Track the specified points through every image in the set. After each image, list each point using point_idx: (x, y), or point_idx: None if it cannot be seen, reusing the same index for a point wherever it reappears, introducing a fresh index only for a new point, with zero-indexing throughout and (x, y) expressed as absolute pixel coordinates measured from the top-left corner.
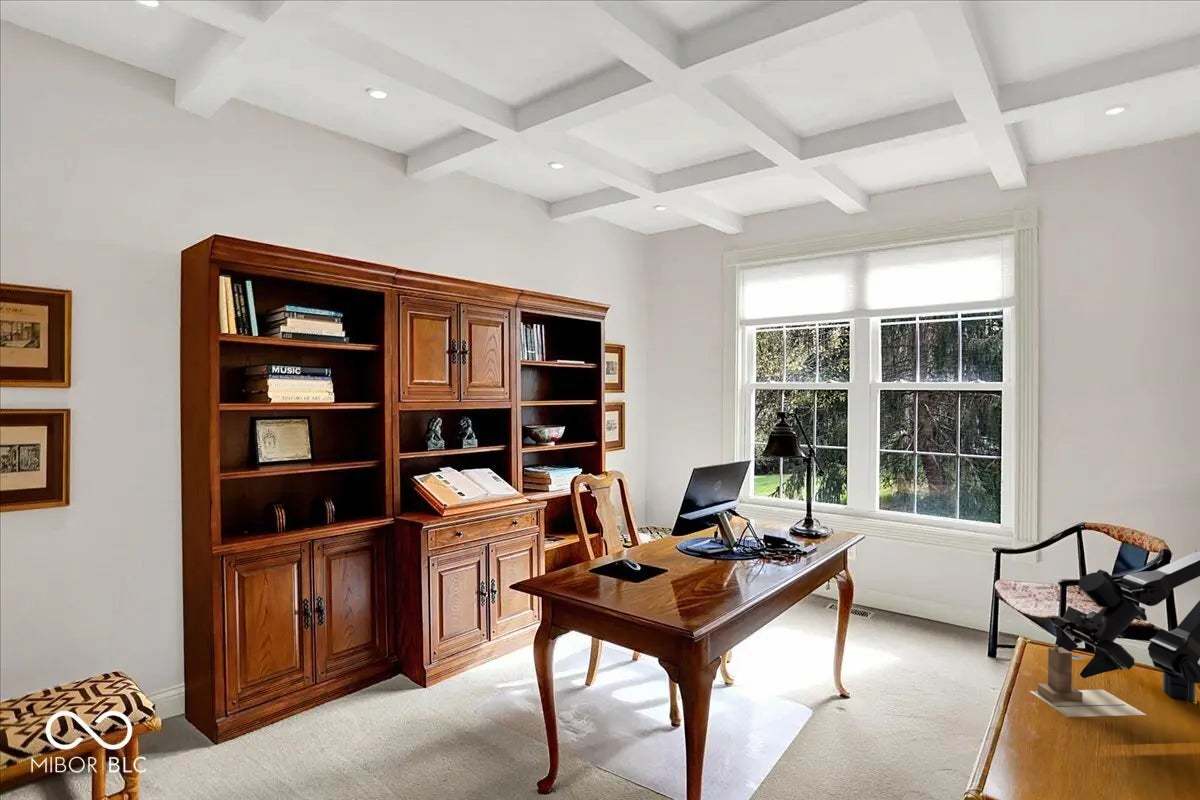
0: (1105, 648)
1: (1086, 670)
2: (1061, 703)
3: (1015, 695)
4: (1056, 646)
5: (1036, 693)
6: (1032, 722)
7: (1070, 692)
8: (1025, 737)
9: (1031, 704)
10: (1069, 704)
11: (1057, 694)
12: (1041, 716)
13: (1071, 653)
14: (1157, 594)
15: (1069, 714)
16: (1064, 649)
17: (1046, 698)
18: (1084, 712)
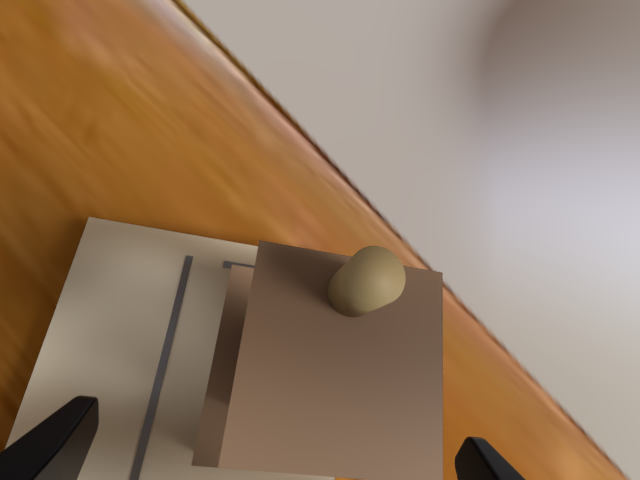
0: None
1: (4, 453)
2: (210, 308)
3: (369, 229)
4: (350, 265)
5: None
6: (160, 109)
7: (218, 385)
8: (79, 4)
9: (288, 227)
10: (188, 341)
11: (226, 292)
12: (189, 179)
13: (222, 460)
14: None
15: (102, 245)
16: (361, 458)
17: None
18: (90, 344)
